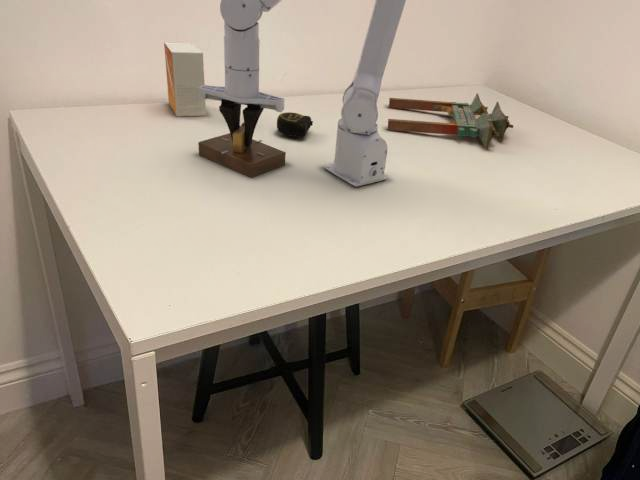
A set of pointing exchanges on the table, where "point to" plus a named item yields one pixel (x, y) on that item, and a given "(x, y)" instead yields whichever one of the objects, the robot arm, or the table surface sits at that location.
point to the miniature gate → (464, 120)
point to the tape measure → (293, 124)
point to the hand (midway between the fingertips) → (242, 144)
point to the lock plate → (242, 155)
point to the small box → (185, 78)
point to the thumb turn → (239, 139)
